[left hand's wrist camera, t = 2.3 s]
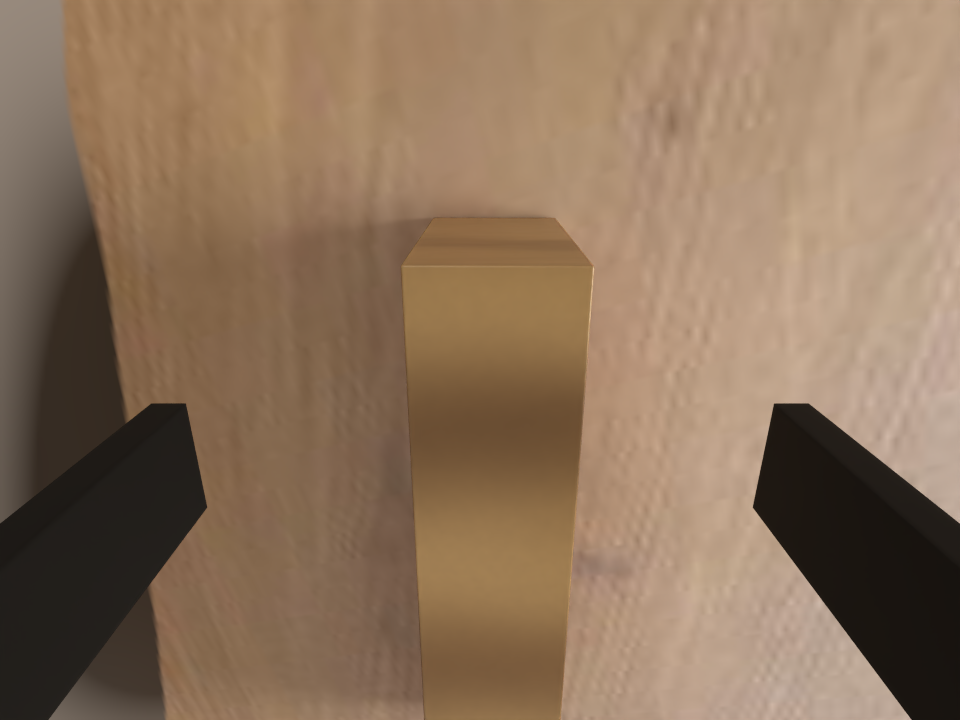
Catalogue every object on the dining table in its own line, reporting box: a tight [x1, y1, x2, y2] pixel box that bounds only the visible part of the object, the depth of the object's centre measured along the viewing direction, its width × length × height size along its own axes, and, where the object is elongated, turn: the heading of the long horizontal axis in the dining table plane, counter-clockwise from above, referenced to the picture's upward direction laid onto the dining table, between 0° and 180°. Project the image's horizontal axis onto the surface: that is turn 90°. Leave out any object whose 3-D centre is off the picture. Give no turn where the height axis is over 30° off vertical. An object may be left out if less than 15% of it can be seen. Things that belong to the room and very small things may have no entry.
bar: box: [401, 218, 594, 720], centre depth 21 cm, size 25×4×8 cm, turn 0°
